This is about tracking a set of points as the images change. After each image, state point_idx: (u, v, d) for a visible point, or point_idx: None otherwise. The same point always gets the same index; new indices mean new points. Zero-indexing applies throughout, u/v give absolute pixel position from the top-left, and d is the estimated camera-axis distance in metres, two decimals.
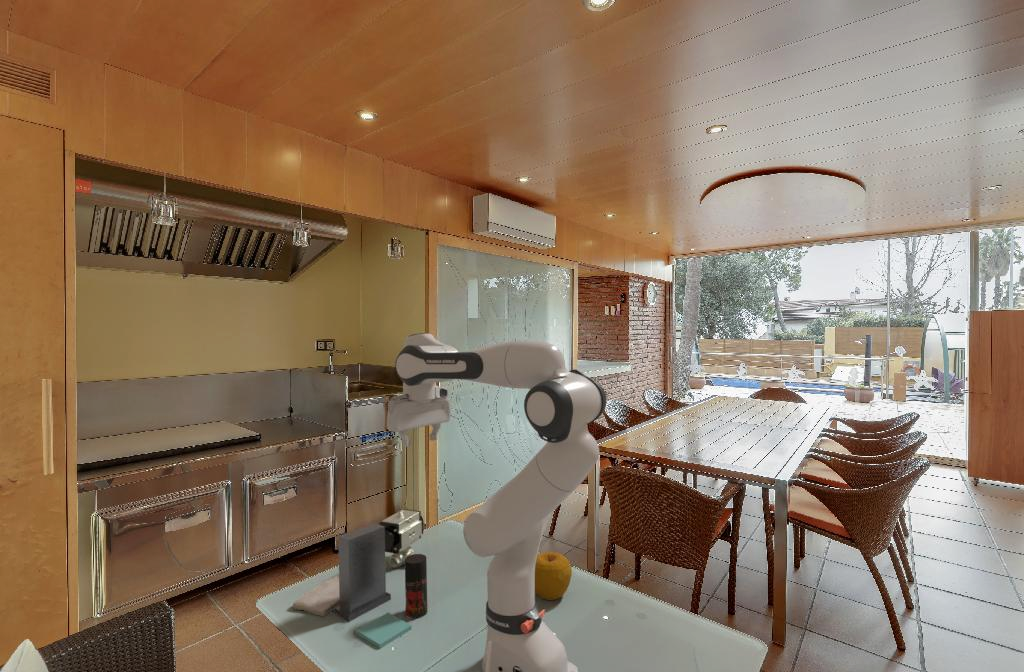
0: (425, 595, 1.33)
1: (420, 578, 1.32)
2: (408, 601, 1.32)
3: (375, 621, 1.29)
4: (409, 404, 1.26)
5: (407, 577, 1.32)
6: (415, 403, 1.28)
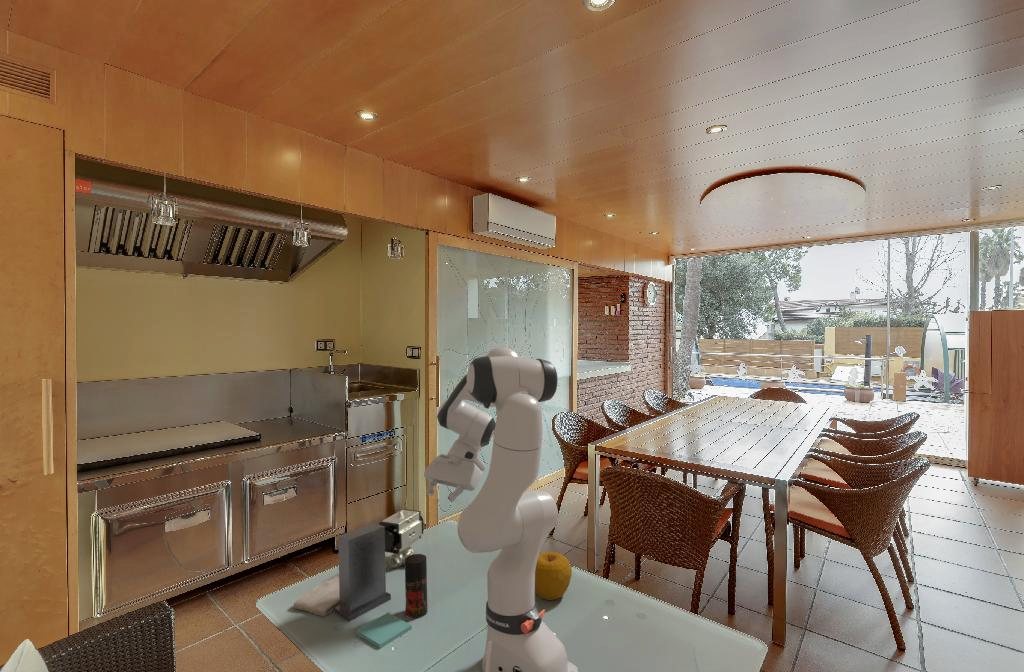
0: (425, 595, 1.33)
1: (420, 578, 1.32)
2: (408, 601, 1.32)
3: (375, 621, 1.29)
4: (443, 459, 1.52)
5: (407, 577, 1.32)
6: (447, 460, 1.51)
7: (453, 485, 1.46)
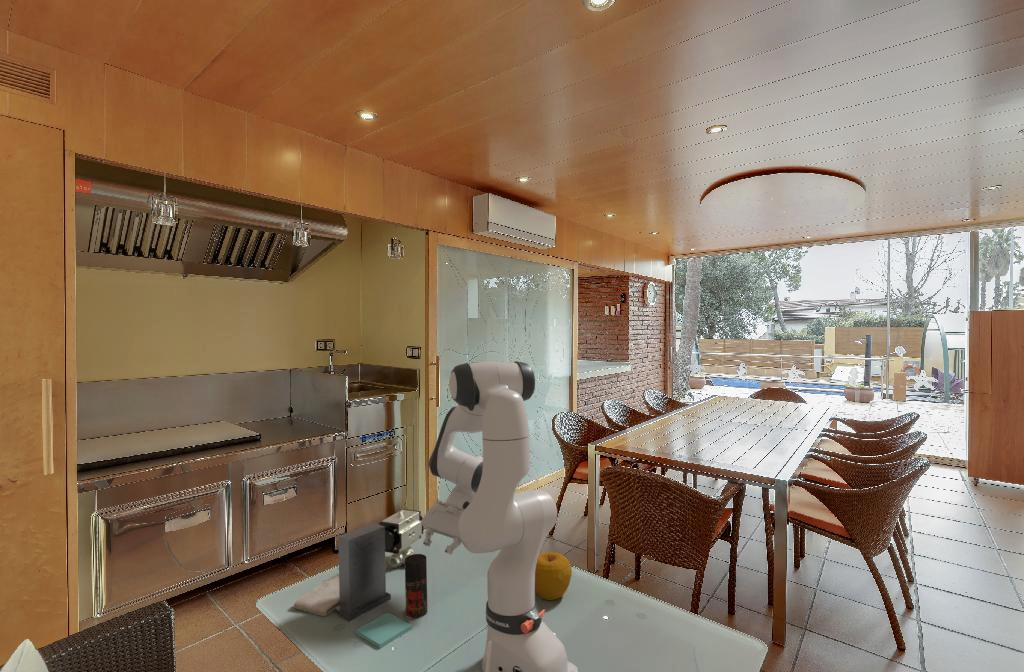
0: (425, 595, 1.33)
1: (420, 578, 1.32)
2: (408, 601, 1.32)
3: (375, 621, 1.29)
4: (440, 507, 1.49)
5: (407, 577, 1.32)
6: (445, 508, 1.48)
7: (451, 536, 1.43)
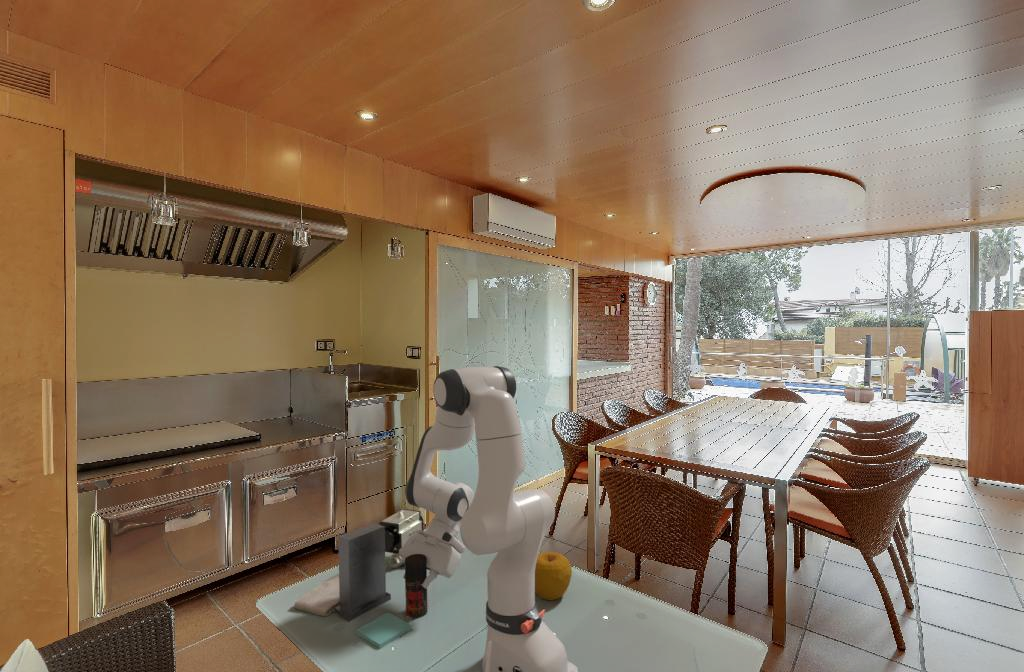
0: (425, 595, 1.33)
1: (420, 578, 1.32)
2: (408, 601, 1.32)
3: (375, 621, 1.29)
4: (420, 537, 1.42)
5: (407, 577, 1.32)
6: (424, 539, 1.41)
7: (430, 569, 1.36)
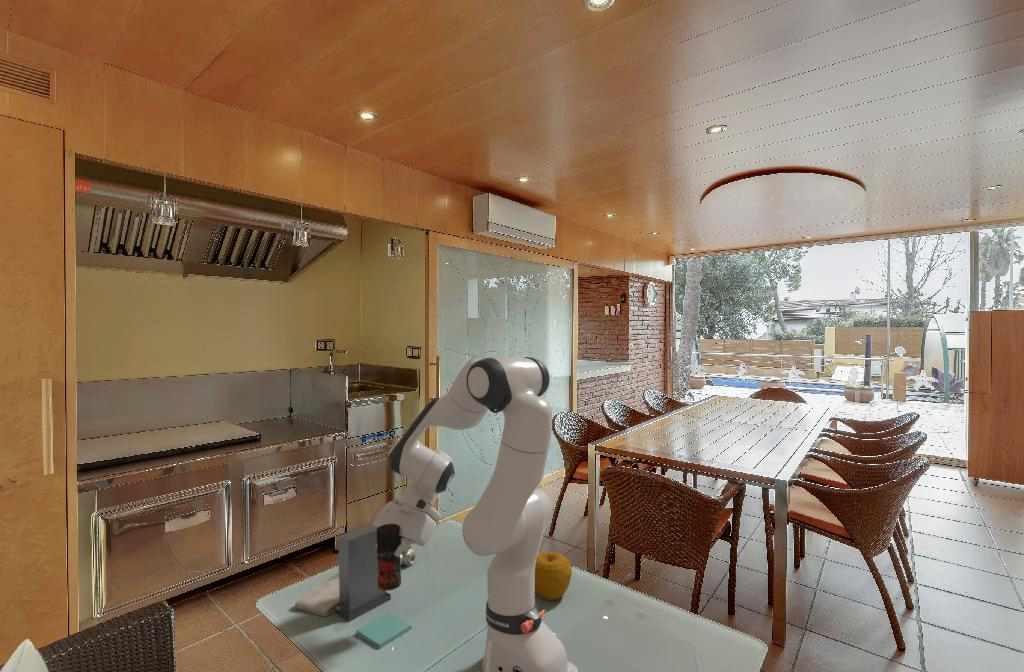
0: (398, 566, 1.26)
1: (392, 548, 1.25)
2: (380, 572, 1.25)
3: (375, 621, 1.29)
4: (394, 506, 1.35)
5: (379, 547, 1.25)
6: (399, 507, 1.34)
7: (403, 538, 1.29)
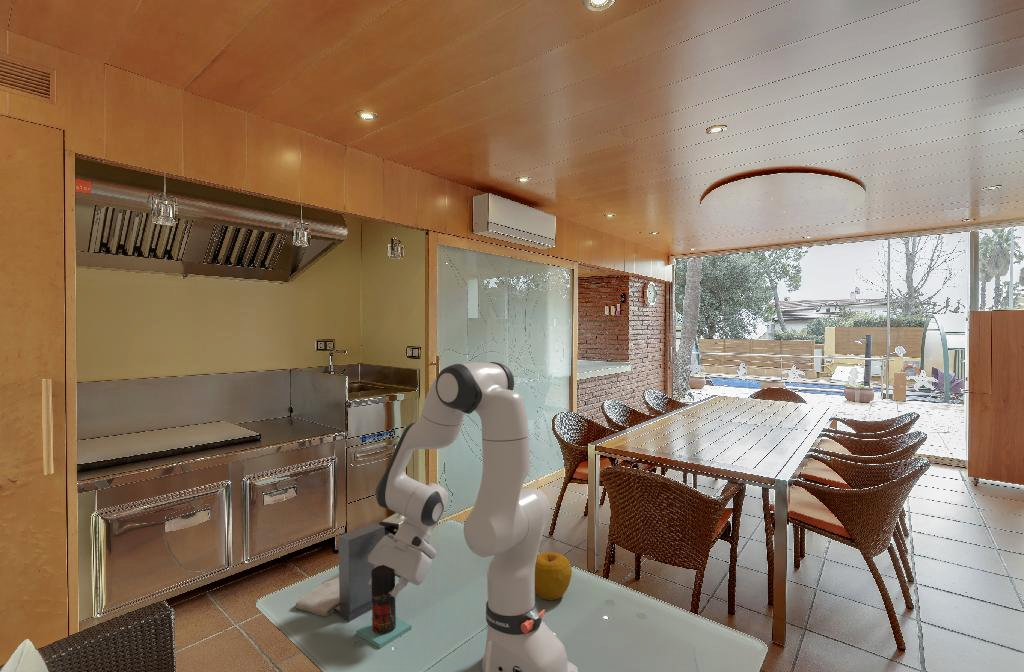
0: (393, 609, 1.25)
1: (387, 591, 1.23)
2: (374, 616, 1.23)
3: None
4: (389, 541, 1.34)
5: (373, 590, 1.23)
6: (394, 543, 1.33)
7: (398, 575, 1.28)
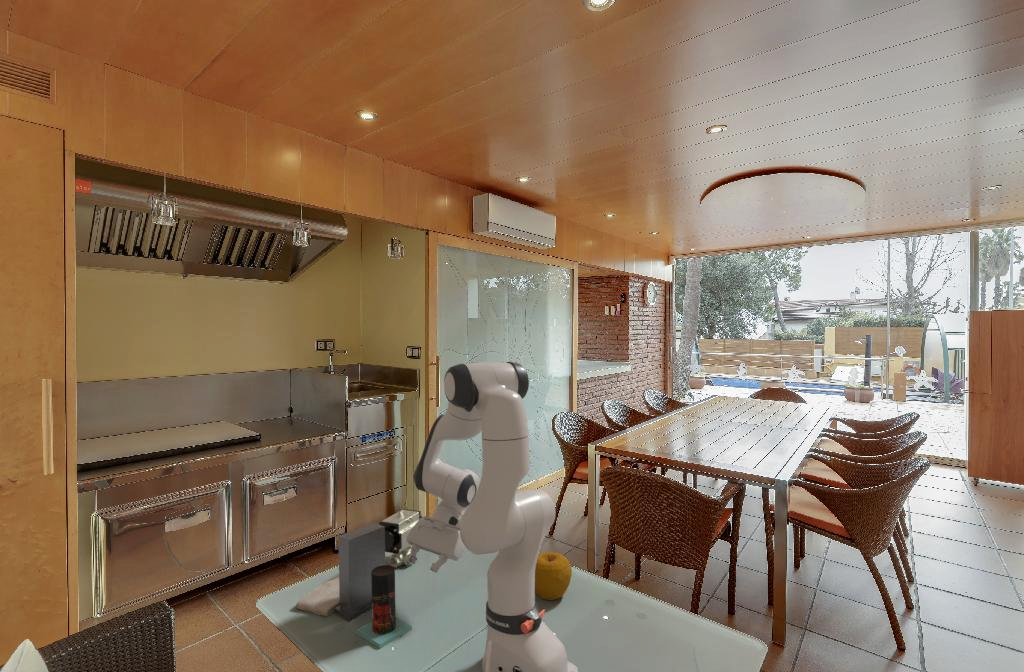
0: (393, 609, 1.25)
1: (387, 591, 1.23)
2: (374, 616, 1.23)
3: None
4: (426, 522, 1.44)
5: (373, 590, 1.23)
6: (431, 524, 1.43)
7: (437, 553, 1.38)
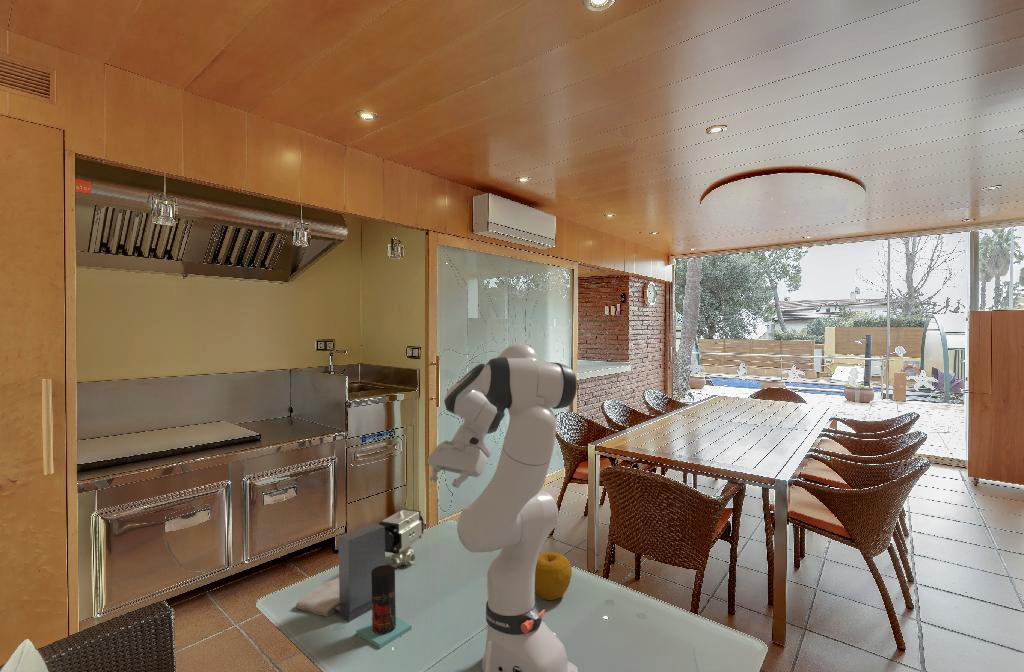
0: (393, 609, 1.25)
1: (387, 591, 1.23)
2: (374, 616, 1.23)
3: None
4: (447, 445, 1.48)
5: (373, 590, 1.23)
6: (451, 446, 1.47)
7: (457, 471, 1.42)
